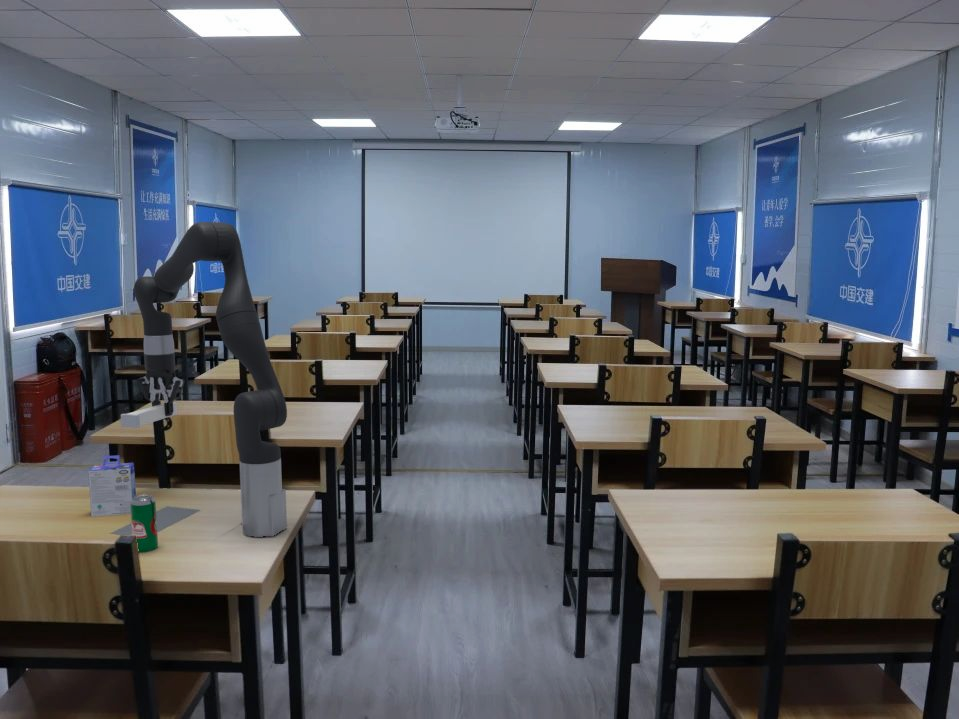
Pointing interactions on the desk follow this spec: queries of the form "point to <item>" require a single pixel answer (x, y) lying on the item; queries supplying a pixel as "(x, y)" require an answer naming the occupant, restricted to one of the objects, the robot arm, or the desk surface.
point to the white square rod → (145, 416)
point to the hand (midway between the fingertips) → (163, 414)
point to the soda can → (144, 522)
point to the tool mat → (162, 519)
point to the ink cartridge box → (111, 487)
